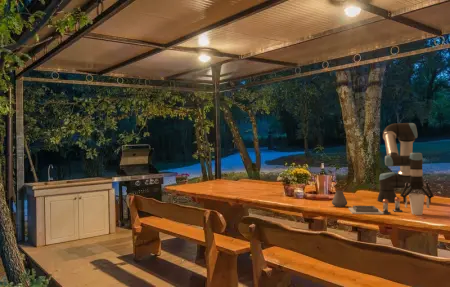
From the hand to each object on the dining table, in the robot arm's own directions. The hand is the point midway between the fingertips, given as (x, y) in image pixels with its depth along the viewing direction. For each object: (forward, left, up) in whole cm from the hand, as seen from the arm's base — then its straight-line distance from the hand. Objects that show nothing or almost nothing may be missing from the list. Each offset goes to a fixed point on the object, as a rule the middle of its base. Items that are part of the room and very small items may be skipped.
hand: (417, 207), depth 251 cm
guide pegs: (-4, -15, -4) cm, 16 cm away
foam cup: (0, 0, -5) cm, 5 cm away
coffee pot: (-32, -44, -5) cm, 55 cm away
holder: (-6, -32, -4) cm, 33 cm away
